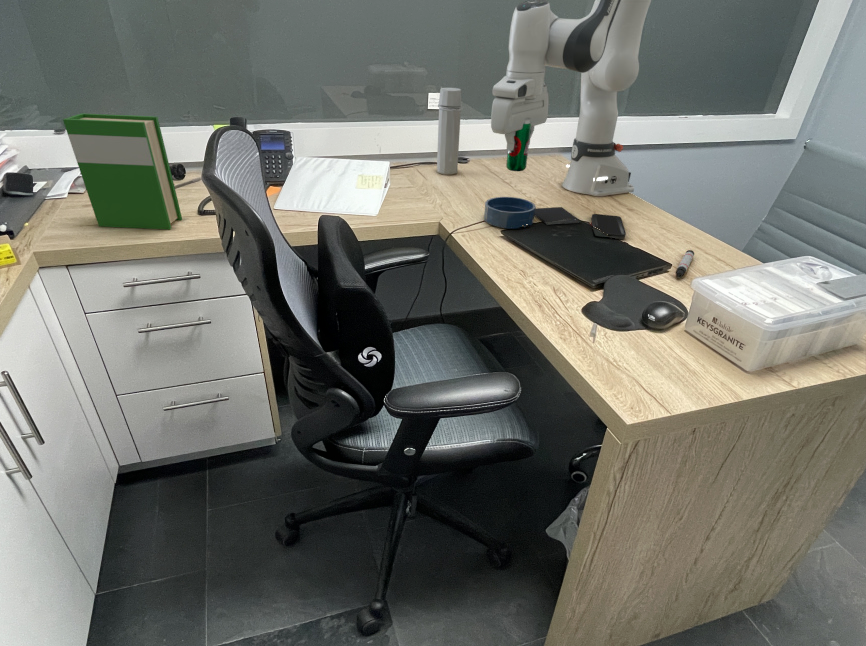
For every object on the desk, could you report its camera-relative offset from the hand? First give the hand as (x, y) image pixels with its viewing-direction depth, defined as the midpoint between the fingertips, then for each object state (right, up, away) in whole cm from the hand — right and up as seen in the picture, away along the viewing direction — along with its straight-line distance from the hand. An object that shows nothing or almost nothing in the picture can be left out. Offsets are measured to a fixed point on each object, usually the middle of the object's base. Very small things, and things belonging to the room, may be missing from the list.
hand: (518, 147), depth 134 cm
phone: (+25, -18, +8) cm, 32 cm away
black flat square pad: (+12, -13, +15) cm, 23 cm away
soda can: (0, -4, +3) cm, 5 cm away
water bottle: (-16, +12, +47) cm, 51 cm away
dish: (-1, -15, +11) cm, 18 cm away
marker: (+36, -33, -12) cm, 50 cm away
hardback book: (-95, -18, +1) cm, 96 cm away
